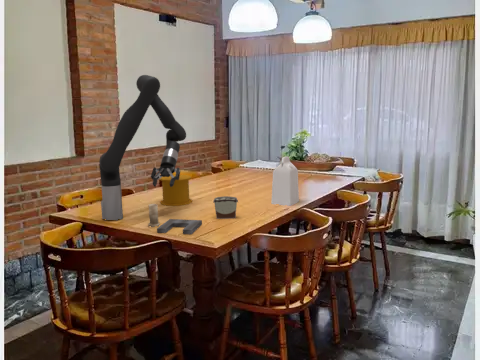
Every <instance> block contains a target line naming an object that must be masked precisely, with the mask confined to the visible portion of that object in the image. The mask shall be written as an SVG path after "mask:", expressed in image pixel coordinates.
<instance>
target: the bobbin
mask: <svg viewBox="0 0 480 360" xmlns="http://www.w3.org/2000/svg"><path fill="white" fill-rule="evenodd" d="M158 207H159V206H158V204H157V203H150V204H148V215H149V216H148V217H149V222H148V224H147V225H148V227H149V226H151V228H156V227H155V226H157V227H160V226H161V224H160V222H159V211H158V210H159V208H158ZM159 225H160V226H159Z"/></svg>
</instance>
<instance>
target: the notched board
mask: <svg viewBox="0 0 480 360" xmlns="http://www.w3.org/2000/svg"><path fill="white" fill-rule="evenodd" d="M202 225H203V220H201V219H182V218H181V219H179V218H177V219H176V218H169V219H167V220H166V221H165V222H163V223H162V224H160V226H157V227H156V234H157V233H158V234H166V233H168V232H169V231H170V230H172V229H173V228H182V234H183V235H193V234H194V233H195V232H196V231H197V230H198V229H199V228H200V227H201V226H202Z"/></svg>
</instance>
